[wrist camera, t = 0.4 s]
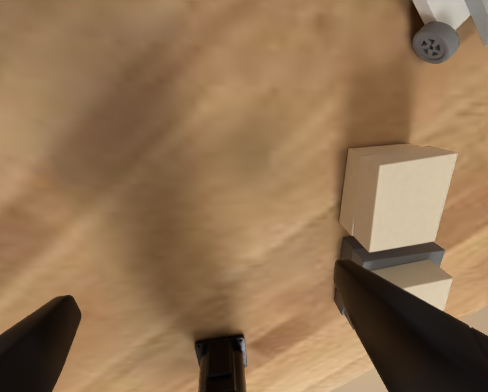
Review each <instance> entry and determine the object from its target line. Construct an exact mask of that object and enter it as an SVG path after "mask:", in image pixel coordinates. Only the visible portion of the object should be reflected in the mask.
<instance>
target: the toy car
mask: <svg viewBox="0 0 488 392" xmlns="http://www.w3.org/2000/svg"><path fill="white" fill-rule="evenodd" d="M412 1H413V3H414V5H415V7H416V9H417V11H418V13H419V15H420V16H421V18H422V20H423V22H424V24H425V25H424V26H423V27H422V28H421V29H420V30H419V31H418V32H417V33H416V34H415V36H414V38H413V48H414V51H415V52H416V54H417V55H418V56H419V57H420V58H421V59H423V60H424V61H426V62H429V63H433V64H438V63H442V62H444V61H446V60H447V59H448V58H449V57H451V56H452V55H453V54H454V53H455V52H456V50H457V49H458V47H459V37H458V34H457V33H456V31H455V30H456V29H457V28H458V27H459V26H460V25H461V24H462V23H463V22H464V21H465V20H466V19H467V18H468V17H469V16H470V15H471V17H472V19H473V21H474V24H475V26H476V28H477V31H478V33H479V35H480V38H481V40H482V42H483V44H484V45H488V0H412Z"/></svg>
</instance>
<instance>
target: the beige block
mask: <svg viewBox="0 0 488 392" xmlns="http://www.w3.org/2000/svg"><path fill="white" fill-rule="evenodd" d="M457 154H458V153H456V152H452V151H448V150H444V149H440V148H436V147H432V146H424V147H421V146H417V145H413V144H409V143H408V144H396V145H385V146H373V147H361V148H350V149H348V156H347V163H346V171H345V179H344V187H343V195H342V203H341V211H340V218H339V223H340V224H341V225H342V226H343V227H344V228H345V229H346V230H347V231H348V232H349V234H350V235H351V236H353V235H354V237H355V238H356V239H357V240H358V241H359V242H360V243H361V245H362V246H363V247H364V248H365V249H366V250H367V251H368V252H369V253H370V252H376V251H382V250H387V249H393V248H399V247H405V246H410V245H416V244H422V243H428V242H433V241H435V238H436V234H437V230H438V226H439V223H440V219H441V215H442V211H443V208H444V204H445V200H446V196H447V192H448V189H449V185H450V181H451V177H452V173H453V170H454V166H455V162H456V158H457Z"/></svg>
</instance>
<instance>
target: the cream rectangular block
mask: <svg viewBox="0 0 488 392" xmlns="http://www.w3.org/2000/svg"><path fill="white" fill-rule="evenodd" d="M372 272H374V273H375V274H377V275H379V276H381V277H382V278H384V279H386V280H388V281H390V282H391V283H393V284H395V285H397V286H399V287H400V288H402V289H404V290H406V291H408V292H409V293H411V294H413V295H415V296H417V297H418V298H420V299H422V300H424V301H426V302H427V303H429V304H431V305H433V306H435V307H436V308H438V309H440V310H442V311H444V308H445V304H446V301H447V297H448V294H449V290H450V287H451V283H452V280H453V278H452V277H451V276H450V275H449V274H447V273H446V272H445V271H444V270H442V269H441V268H440V267H438V266H437V265H436V264H435V263H433V262H432V261H431V260H430V259H427V260H422V261H417V262H412V263H407V264H402V265H397V266H392V267H387V268H383V269H378V270H373V271H372Z"/></svg>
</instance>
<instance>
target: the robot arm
mask: <svg viewBox="0 0 488 392" xmlns="http://www.w3.org/2000/svg"><path fill="white" fill-rule="evenodd" d="M334 283H335V286H336V288H337V290H338V293H339V295H340V297H341V300H342V302H343V304H344V307H345V309H346V312H347V314H348V316H349V319H350V321H351V323H352V325H353V327H354V329H355V331H356V333H357V335H358V337H359V339H360V341H361V342H362V344H363V346H364V348H365V350H366V352H367V353H368V355H369V357H370V359H371V361H372V363H373V364H374V366H375V368H376V370H377V372H378V373H379V375H380V377H381V379H382V381H383V382H384V384H385V386H386V388H387V390H388V392H488V336H487V335H485V334H483V333H482V332H480V331H478V330H476V329H474V328H470V327H469V326H468V325H467V324H465V323H463V322H462V321H460V320H458V319H456V318H454V317H453V316H451V315H449V314H447V313H445V312H444V311H442V310H440V309H438V308H436V307H435V306H433V305H431V304H429V303H427V302H426V301H424V300H422V299H420V298H418V297H417V296H415V295H413V294H411V293H409V292H408V291H406V290H404V289H402V288H400V287H399V286H397V285H395V284H393V283H391V282H390V281H388V280H386V279H384V278H382V277H381V276H379V275H377V274H375V273H374V272H372V271H370V270H368V269H366V268H365V267H363V266H361V265H359V264H357V263H356V262H354V261H352V260H350V259H347V258H345V259H338V260H336V262H335V269H334ZM80 320H81V311H80V309H79V307H78V305H77V303H76V301H75V299H74V298H73V297H72V296H71V295H66V296H59V297H56V298H54V299H52V300H51V301H49V302H48V303H47V304H45V305H44V306H42V307H41V308H39V309H38V310H36V311H35V312H33V313H32V314H30V315H29V316H27V317H26V318H24V319H23V320H21V321H20V322H18V323H17V324H15V325H14V326H13V327H11V328H10V329H8V330H7V331H5V332H4V333H2V334H1V335H0V392H52V391H53V389H54V386H55V384H56V382H57V380H58V378H59V376H60V373H61V371H62V369H63V366H64V364H65V361H66V358H67V356H68V353H69V350H70V347H71V345H72V342H73V339H74V337H75V334H76V331H77V329H78V326H79V323H80ZM195 350H196V354H197V358H198V363H199V367H200V374H199V388H198V392H246V382H245V371H244V368H245V367H247V360H246V349H245V339H244V336H243V335H238V336H231V337H224V338H216V339H209V340H202V341H197V342H196V343H195Z"/></svg>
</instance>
